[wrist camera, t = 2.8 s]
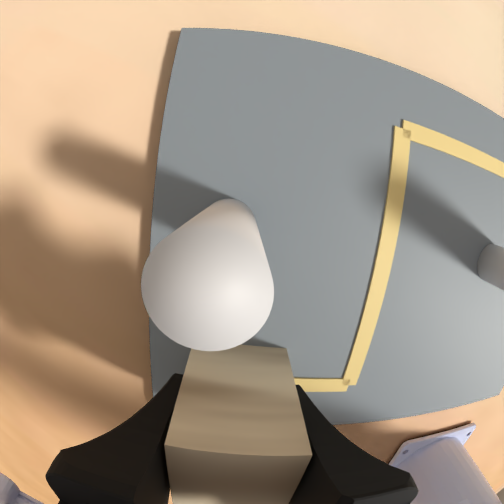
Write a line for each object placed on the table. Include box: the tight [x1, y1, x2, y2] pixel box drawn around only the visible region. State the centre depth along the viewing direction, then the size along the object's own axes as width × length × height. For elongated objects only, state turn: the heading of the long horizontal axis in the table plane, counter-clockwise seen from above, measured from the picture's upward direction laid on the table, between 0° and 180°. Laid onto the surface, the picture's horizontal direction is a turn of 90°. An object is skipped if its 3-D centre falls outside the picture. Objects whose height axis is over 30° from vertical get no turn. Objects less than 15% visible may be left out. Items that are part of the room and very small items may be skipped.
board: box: [141, 28, 504, 425], centre depth 9 cm, size 18×24×8 cm
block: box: [164, 345, 312, 504], centre depth 10 cm, size 4×4×6 cm
